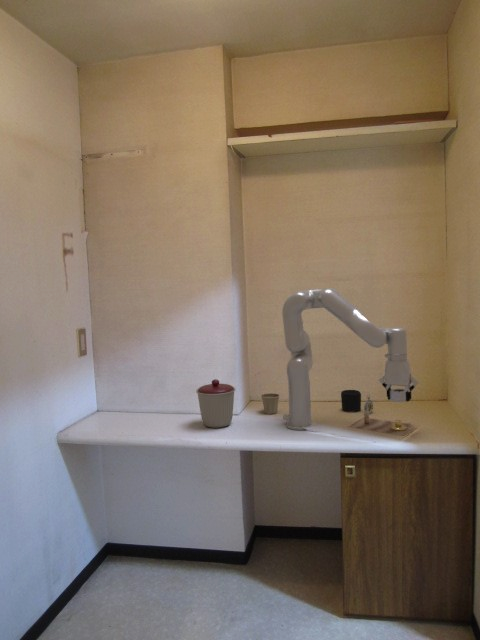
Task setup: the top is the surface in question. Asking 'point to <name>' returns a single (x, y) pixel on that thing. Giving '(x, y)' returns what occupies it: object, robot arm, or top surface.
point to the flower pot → (270, 402)
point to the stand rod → (366, 417)
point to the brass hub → (398, 426)
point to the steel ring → (398, 395)
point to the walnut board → (381, 426)
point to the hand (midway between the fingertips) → (399, 399)
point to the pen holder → (351, 401)
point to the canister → (216, 404)
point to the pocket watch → (368, 405)
